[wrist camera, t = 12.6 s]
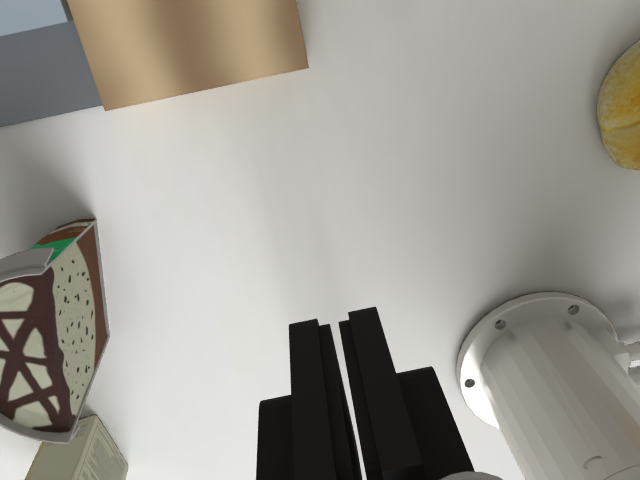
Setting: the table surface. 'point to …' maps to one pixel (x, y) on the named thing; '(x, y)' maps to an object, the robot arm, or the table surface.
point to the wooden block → (185, 45)
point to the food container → (51, 332)
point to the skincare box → (80, 456)
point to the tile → (32, 14)
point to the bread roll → (622, 109)
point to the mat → (44, 74)
